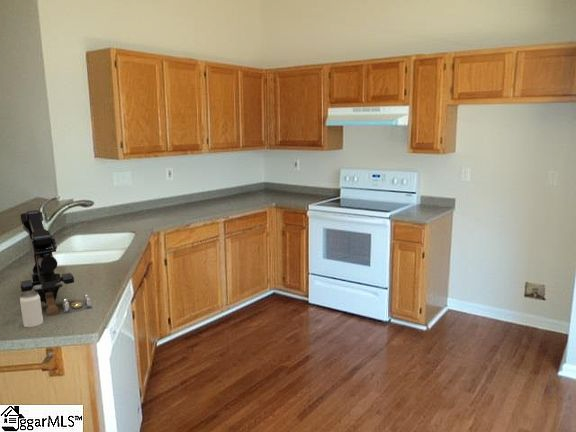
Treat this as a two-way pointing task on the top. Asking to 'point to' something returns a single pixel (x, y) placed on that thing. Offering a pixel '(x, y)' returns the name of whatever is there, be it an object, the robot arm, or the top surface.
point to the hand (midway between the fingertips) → (50, 302)
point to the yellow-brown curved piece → (77, 305)
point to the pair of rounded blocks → (86, 299)
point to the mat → (76, 309)
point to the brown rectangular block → (51, 304)
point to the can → (31, 309)
